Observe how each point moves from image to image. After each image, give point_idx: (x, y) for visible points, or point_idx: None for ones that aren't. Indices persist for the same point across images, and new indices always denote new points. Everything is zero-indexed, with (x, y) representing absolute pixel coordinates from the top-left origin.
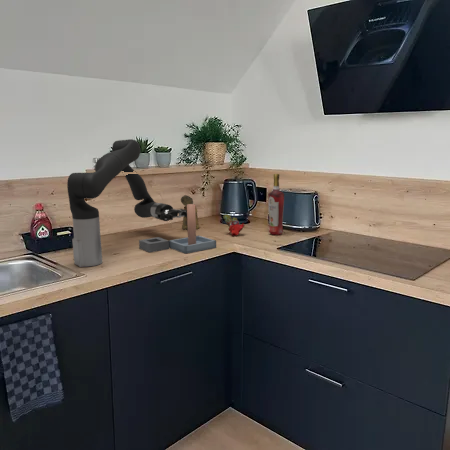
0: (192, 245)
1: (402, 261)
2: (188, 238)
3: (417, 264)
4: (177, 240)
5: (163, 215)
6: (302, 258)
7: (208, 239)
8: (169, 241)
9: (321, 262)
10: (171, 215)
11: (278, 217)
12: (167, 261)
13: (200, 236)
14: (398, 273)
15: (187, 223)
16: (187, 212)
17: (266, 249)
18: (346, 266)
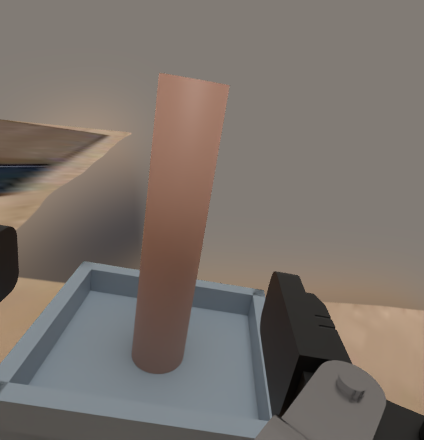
0: (224, 285)
1: (21, 130)
2: (189, 319)
3: (31, 127)
4: (216, 418)
5: (400, 414)
6: (75, 171)
7: (75, 292)
8: None
9: (86, 160)
10: (290, 275)
11: None
12: (359, 306)
13: (13, 361)
14: (88, 136)
15: (201, 234)
16: (218, 148)
17: (23, 205)
18: (89, 150)
